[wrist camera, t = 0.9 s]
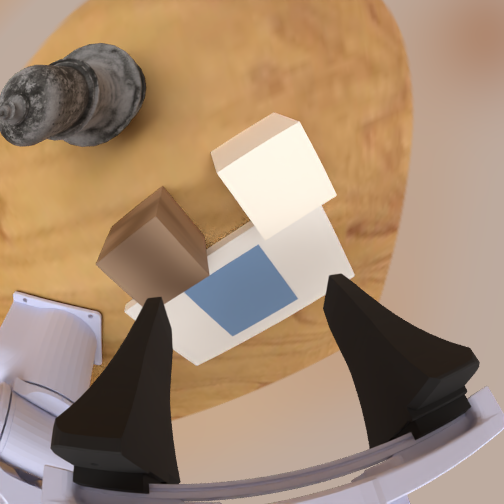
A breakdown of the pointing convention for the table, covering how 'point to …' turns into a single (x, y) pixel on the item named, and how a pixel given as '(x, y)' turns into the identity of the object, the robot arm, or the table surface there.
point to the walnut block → (155, 250)
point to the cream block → (273, 173)
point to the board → (253, 285)
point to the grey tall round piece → (73, 98)
